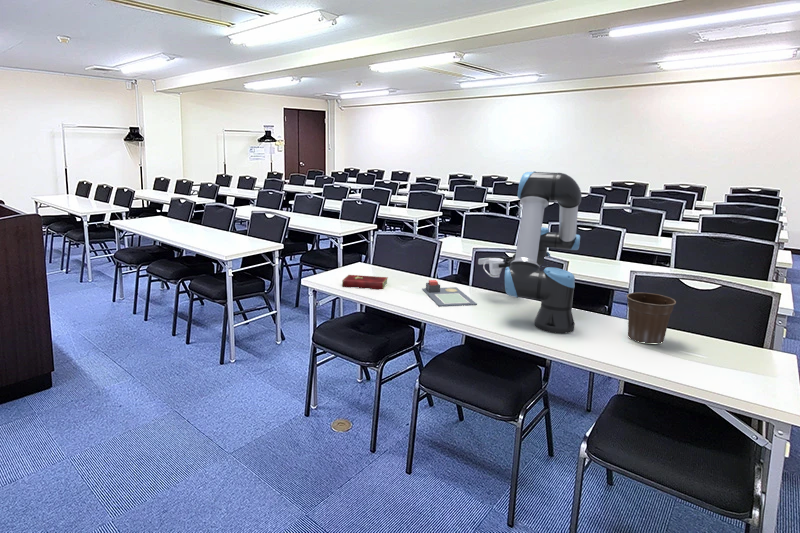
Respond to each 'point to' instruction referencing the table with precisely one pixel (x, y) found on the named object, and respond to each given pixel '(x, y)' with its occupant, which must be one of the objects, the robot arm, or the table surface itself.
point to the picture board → (450, 297)
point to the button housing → (432, 288)
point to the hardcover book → (364, 281)
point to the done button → (433, 282)
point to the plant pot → (648, 316)
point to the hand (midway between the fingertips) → (485, 263)
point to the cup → (493, 271)
